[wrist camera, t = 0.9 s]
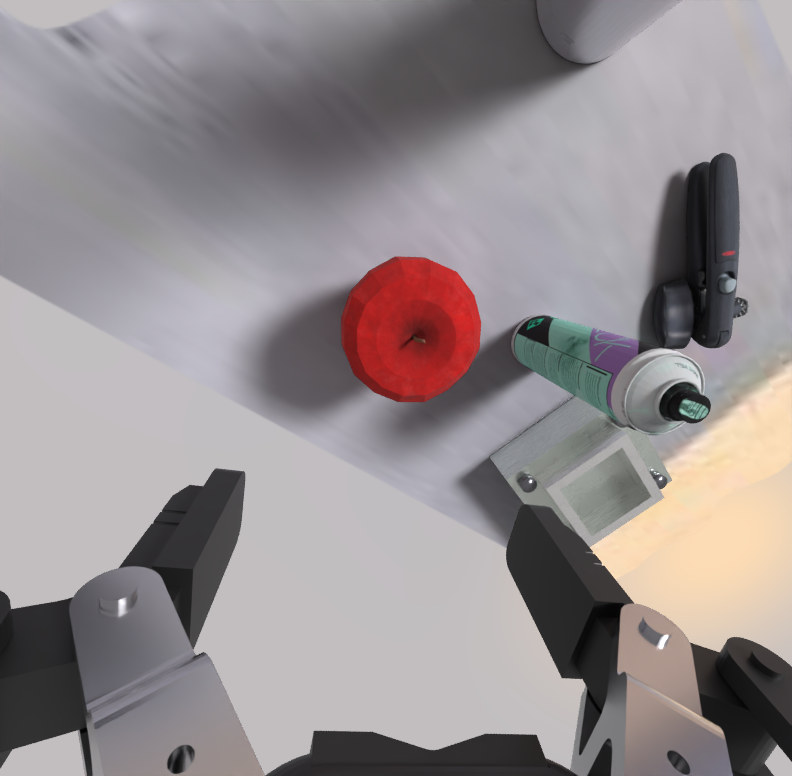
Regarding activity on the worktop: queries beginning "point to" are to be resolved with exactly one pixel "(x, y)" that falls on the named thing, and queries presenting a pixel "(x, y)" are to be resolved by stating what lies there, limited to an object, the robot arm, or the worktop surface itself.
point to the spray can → (615, 373)
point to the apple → (410, 329)
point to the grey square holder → (584, 469)
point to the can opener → (705, 263)
